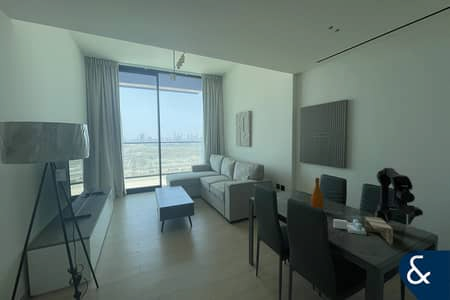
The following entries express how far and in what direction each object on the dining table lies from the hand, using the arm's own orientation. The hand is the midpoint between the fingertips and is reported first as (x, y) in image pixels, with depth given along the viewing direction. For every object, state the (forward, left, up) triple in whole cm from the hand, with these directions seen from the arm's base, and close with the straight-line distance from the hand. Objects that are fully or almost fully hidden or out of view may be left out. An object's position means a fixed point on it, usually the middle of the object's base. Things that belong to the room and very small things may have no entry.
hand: (398, 223), depth 111 cm
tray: (-17, -21, -14) cm, 31 cm away
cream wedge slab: (-9, -6, -14) cm, 18 cm away
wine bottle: (-46, -37, -14) cm, 61 cm away
